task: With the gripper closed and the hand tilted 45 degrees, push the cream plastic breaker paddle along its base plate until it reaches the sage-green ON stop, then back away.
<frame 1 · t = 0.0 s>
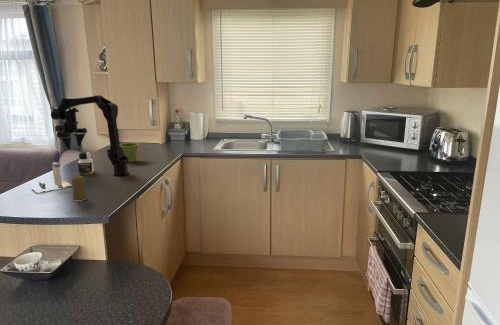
hand: (74, 147, 209), 15 cm above the worktop, tool pointing down, fingers open, 9 cm apart
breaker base: (58, 186, 184), on the worktop
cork: (80, 200, 165), on the worktop
breaker paddle: (57, 174, 183), point 7 cm above the worktop, slide at 0.0 cm
medicine bottle: (86, 173, 211), on the worktop
plant pot: (130, 161, 238), on the worktop
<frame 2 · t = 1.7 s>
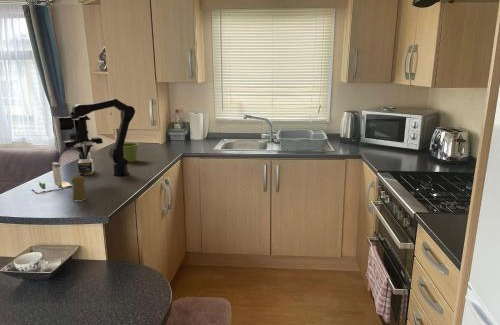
hand: (84, 158, 193), 12 cm above the worktop, tool pointing down, fingers closed
nothing on the worktop moved.
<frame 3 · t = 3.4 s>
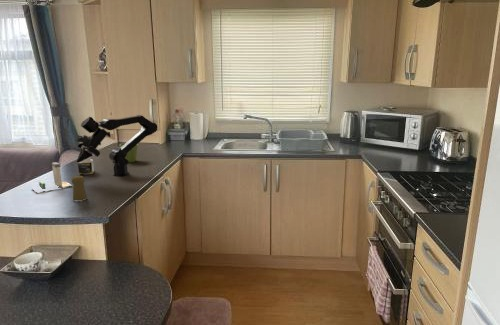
hand: (77, 162, 189), 11 cm above the worktop, tool tilted 45°, fingers closed
nothing on the worktop moved.
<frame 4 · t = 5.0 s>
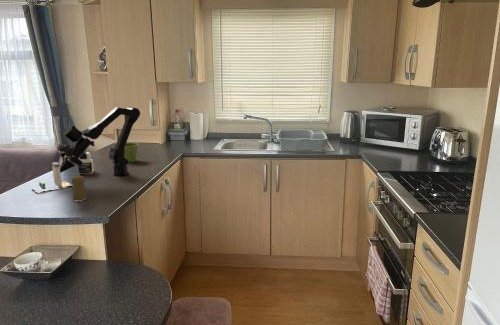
hand: (59, 172, 184), 7 cm above the worktop, tool tilted 45°, fingers closed, pressing on breaker paddle
breaker paddle: (56, 174, 183), point 7 cm above the worktop, slide at 0.1 cm, touching gripper
everything else where it was.
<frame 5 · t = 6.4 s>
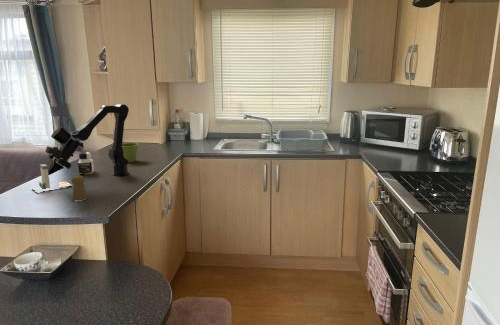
hand: (47, 174, 180), 7 cm above the worktop, tool tilted 45°, fingers closed
breaker paddle: (45, 176, 179), point 7 cm above the worktop, slide at 5.4 cm
everything else where it was.
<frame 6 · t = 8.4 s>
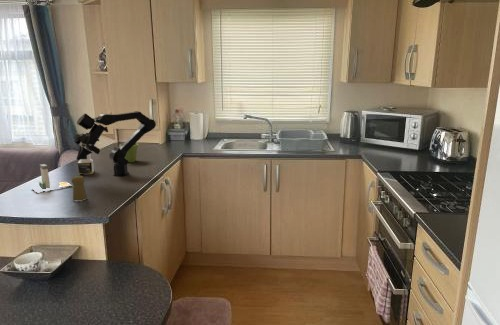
hand: (77, 159, 190), 12 cm above the worktop, tool tilted 40°, fingers closed
nothing on the worktop moved.
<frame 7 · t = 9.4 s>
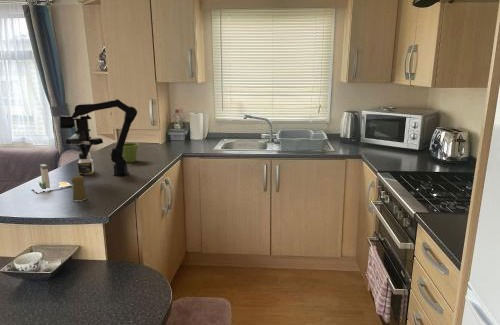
hand: (85, 156, 197), 12 cm above the worktop, tool pointing down, fingers closed
nothing on the worktop moved.
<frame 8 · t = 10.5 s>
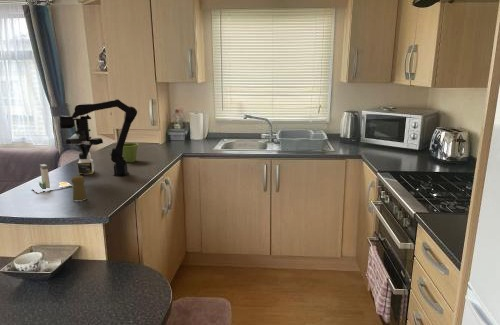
hand: (85, 156, 197), 12 cm above the worktop, tool pointing down, fingers closed
nothing on the worktop moved.
at the end: breaker paddle slide at 5.4 cm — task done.
